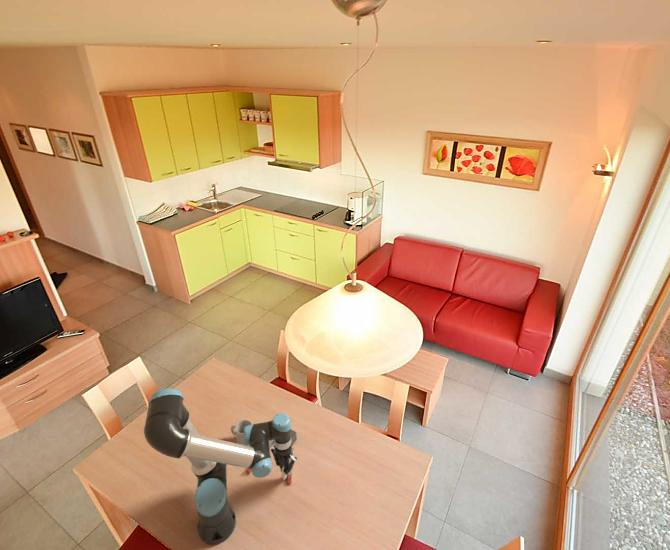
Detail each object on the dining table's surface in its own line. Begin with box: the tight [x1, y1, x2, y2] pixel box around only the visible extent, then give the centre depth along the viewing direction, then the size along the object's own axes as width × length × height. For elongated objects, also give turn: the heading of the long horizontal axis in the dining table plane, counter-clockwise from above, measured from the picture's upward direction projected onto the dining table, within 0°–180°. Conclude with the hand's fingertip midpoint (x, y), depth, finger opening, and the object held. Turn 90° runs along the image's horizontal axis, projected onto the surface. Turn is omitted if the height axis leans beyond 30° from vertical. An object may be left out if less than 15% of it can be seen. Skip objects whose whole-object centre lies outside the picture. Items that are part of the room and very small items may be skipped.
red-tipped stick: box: [287, 447, 294, 485], centre depth 185 cm, size 17×2×2 cm, turn 2°
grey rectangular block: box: [291, 429, 298, 446], centre depth 198 cm, size 4×12×6 cm, turn 61°
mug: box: [230, 419, 253, 446], centre depth 195 cm, size 12×8×11 cm
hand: (285, 476), depth 180 cm, fingers closed
